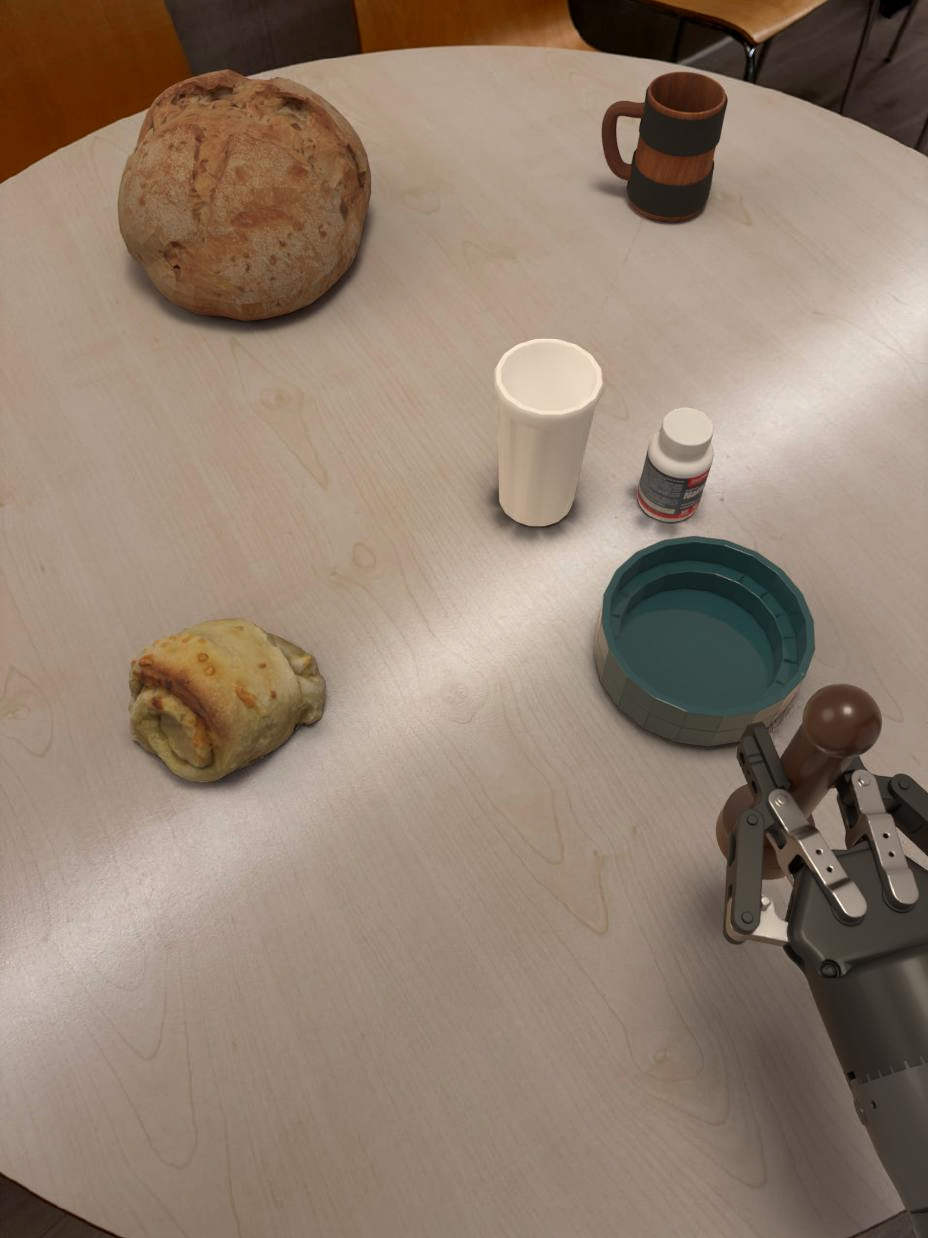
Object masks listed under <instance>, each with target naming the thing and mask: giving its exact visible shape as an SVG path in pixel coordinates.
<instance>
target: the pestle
mask: <svg viewBox="0 0 928 1238" xmlns="http://www.w3.org/2000/svg"><path fill="white" fill-rule="evenodd" d="M802 722H803V723H802ZM802 722H801V724H800V726H799V727H798V728H797V730H796V732H795V734H794V735H793V737H792V738H791V741H789V743H788V745H787V747H785V749H784V751H783V753H782V754H781V756H779V758H780V760H781V762H782V764H783V768H784V771H785V773H786V775H787V776H788V778H789V780H790V783H791V785H790V787H789V788H788V789H787V791H788V792H789V793H790V794H791V795H792V797H793V798H794V800H795V801H796V803H797V805H798V806H799V808H800V809H801V811H802V813H803V814H804V816H805V817H806V819H807V821H808V822H809V824H810V825H811V826H813V827H816V823H815V819H814V816H813V814H812V813H813V812H814V811H815V810H816V808H817V807H818V806H819V804H820V803H821V802H822V800H823V799H824V798H825V797H826V795H827V794H828V793H829V791H830V790H832V789H831V788H832V786H833V785H834V784H835V782H836V781H837V780H838V779H839V777H840V776H841V775H842V774H843V772H844V771H845V770H846V768H847V767H848V766H849V765H850V763H851V762H852V761H853V759H854V758H855V757H856V756H859V757H860V756H861V755H864V754H865V753H866V752H868V751H869V750H870V749H872V748H873V747H874V746H875V744H876V743H877V741H878V740H879V737H880V736H881V732H882V728H883V716H882V711H881V709H880V707H879V705H878V703H877V701H876V700H875V698H874V697H873V696H872V695H871V694H870V693H868V691H865V690H864V689H863V688H861V687H859V686H857V685H853V684H849V683H832V684H829V685H826V686H824V687H821V688H819V689H818V690H817V691H816V692H814V693H813V694H812V695H811V696H810V698H809V699H808V700H807V702H806V704H805V706H804V708H803V713H802ZM754 806H755V801H754V798H753V796H752V793H751V791H750V789H749V786H748V784H747V783H746V784H744V785H741V786H740V787H738V788H737V789H735V790H734V791H733V792H732V793H731V794H730V795H729V797H728V799H726V801H725V803H724V805H723V807H722V809H721V810H720V812H719V814H718V817H717V819H716V823H715V838H716V842H717V845H718V847H719V850H720V852H721V854H722V855H723V857H724V858H725V859H726V860H727V851H728V836H729V832H730V830H731V829H732V827H733V826H734V825H735V824H736V822H737V820H738V817H739V816H740V814H741V813H742V812H743V811H744V810H746V809H751V808H752V807H754ZM782 878H783V879H784V878H786V876H785V874H784V872H783V870H782V869H781V867H780V865H779V863H778V861H777V856H776V851H775V849H774V848H773V846H772V844H771V843H770V841H769V839H768V838H767V836H766V835H764V850H763V873H762V881H773V880H774V881H775V880H780V879H782Z"/></svg>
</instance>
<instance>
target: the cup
mask: <svg viewBox="0 0 928 1238" xmlns="http://www.w3.org/2000/svg"><path fill="white" fill-rule="evenodd" d="M493 380H494V381H493V384H494V385H493V386H494V392H495V397H496V400H497V435H498V436H497V438H498V440H497V442H498V443H497V444H498V449H497V450H498V501H499V504H500V506H501V508H502V510H503V512H504V513H505V514H506V515H507V516H508V517H510V518H511V519H512V520H513V521H515V522H517V523H520V524H522V525H526V526H528V527H546V526H549V525H552V524H556V523H559V521H561V520H562V519H563V518H565V517H566V516H567V515H568V514H569V512H570V510H571V509H572V507H573V504H574V500H575V495H576V491H577V489H578V488H577V487H578V483H579V478H580V474H581V471H582V466H583V462H584V457H585V454H586V449H587V445H588V441H589V437H590V432H591V428H592V424H593V421H594V420H593V419H594V415H595V410H596V407H597V405H598V402H599V401H600V399H601V396H602V393H603V390H604V388H605V384H604V372H603V369H602V368H601V366H600V365H599V364H598V362H597V360H596V358H595V357H594V356H593V355H592V354H591V353H590V352H588V351H587V350H585V349H584V348H583V347H580V346H579V345H578V344H576V343H573V342H569V341H565V340H562V339H559V338H535V339H531V340H528V341H524V342H520V343H518V344H516V345H514V346H513V347H512V348H510V349H509V350H508V351H506V352H505V353H503V354H502V355H501V357H500V359H499V361H498V363H497V364H496V366H495V368H494V370H493Z"/></svg>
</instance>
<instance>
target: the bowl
mask: <svg viewBox="0 0 928 1238" xmlns="http://www.w3.org/2000/svg"><path fill="white" fill-rule="evenodd" d="M814 621H815V620H814V617H813V615H812V613H811V610H810V608H809V606H808V603H807V600H806V598H805V596H804V594H803V593H802V591H801V590H800V588H799V587H798V586H797V585H796V584H795V582H793V581H792V579H791V578H790V577H789V576H788V574H787V573H786V572H785V570H784V569H782V568H781V567H780V566H778V565H777V564H775V563H774V562H772V561H771V560H770V559H768V558H767V557H765V556H764V555H763V554H761V553H760V552H758V551H756V550H754V549H751V548H748V547H746V546H744V545H741V544H738V543H736V542H733V541H731V540H728V539H723V538H714V537H709V536H708V537H707V536H698V535H690V536H682V537H675V538H666V539H663V540H660V541H658V542H656V543H653V544H651V545H648V546H646V547H644V548H641V549H639V550H637V551H635V552H634V553H633V554H632V555H631V556H630V557H628V559H626V560H625V561H624V562H623V563H622V564H621V565H620V566H619V567H617V569H615V570H614V573H613V575H612V577H611V579H610V581H609V583H608V585H607V586H606V589H605V590H604V593H603V595H602V598H601V603H600V608H599V613H598V618H597V622H596V627H595V633H594V635H595V637H594V646H593V658H594V661H595V665H596V669H597V672H598V677H599V680H600V682H601V684H602V685H603V687H604V688H605V690H606V692H607V693H608V694H609V696H610V698H611V699H612V701H613V702H614V704H615V705H616V707H617V708H619V709H620V710H621V711H622V712H623V713H625V714H626V715H627V716H628V717H629V718H630V719H632V720H633V721H634V722H636V723H637V725H639V726H641V728H644V730H647V731H649V732H651V733H653V734H656V735H658V736H660V737H663V738H664V739H665V738H666V739H667V740H670V741H672V742H675V743H680V744H687V745H696V746H702V747H713V746H717V745H726V744H731V743H732V744H733V743H740V742H741V737H742V734H743V733H744V731H745V729H746V727H747V725H748V724H752V723H757V722H763V723H764V724H765V726H766V728H767V729H768V728H770V726H772V724H773V723H774V722H775V721H776V720H777V719H778V718H779V716H780V715H781V714H782V713H783V712H784V711H785V710H786V709H787V708H788V706H789V705H790V703H791V701H792V699H793V698H794V696H795V694H796V693H797V691H798V690H799V688H800V686H801V685H802V683H803V681H804V680H805V678H806V676H807V673H808V670H809V668H810V665H811V663H812V660H813V657H814V654H815V652H816V639H815V622H814Z"/></svg>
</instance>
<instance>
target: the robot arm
mask: <svg viewBox="0 0 928 1238" xmlns="http://www.w3.org/2000/svg"><path fill="white" fill-rule="evenodd" d="M802 723H803V721H802V722H801V724H802ZM738 743H739V744H738V745H737V747H736V760H737V762H738V764H739V767H740V769H741V772H742V774H743V777H744V780H745V781H746V784H748V786H749V789H750V791H751V793H752V796H753V798H754V801H755V806H754V807H752V808H751V809H746V810H744V811H743V812H742V813H741V814H740V816H739V817H738V820H737V822H736V824H735V825H734V826H733V827H732V829H731V830H730V832H729V836H728V851H727V859H726V868H725V883H724V884H725V885H724V887H725V888H724V901H723V902H724V903H723V914H722V915H723V917H722V935H723V938H724V939H725V940H726V941H727V942H728V943H730V944H732V945H735V946H739V945H742V944H744V943H745V942H746V941H752V942H757V943H761V944H766V945H771V946H778V947H782V949H783V951H784V953H785V955H786V956H787V958H789V960H790V961H791V962H793V963H794V964H795V965H796V966H797V967H798V968H799V970H800V971H801V972H802V973H803V975H804V977H805V979H806V981H807V983H808V986H809V990H810V993H811V996H812V998H813V1001H814V1004H815V1005H816V1008H817V1011H818V1013H819V1016H820V1018H821V1022H822V1023H823V1026H824V1029H825V1031H826V1033H827V1035H828V1038H829V1041H830V1043H831V1046H832V1047H833V1051H834V1052H835V1056H836V1058H837V1060H838V1062H839V1065H840V1067H841V1070H842V1073H843V1075H844V1077H845V1080H846V1082H847V1085H848V1087H849V1090H850V1093H851V1096H852V1098H853V1106H854V1109H855V1112H856V1114H857V1117H858V1120H859V1121H860V1123H861V1124H862V1126H864V1128H865V1129H866V1132H867V1134H868V1137H869V1139H870V1141H871V1144H872V1146H873V1149H874V1151H875V1153H876V1155H877V1157H878V1159H879V1161H880V1164H881V1165H882V1167H883V1169H884V1171H885V1173H886V1174H887V1176H888V1178H889V1179H890V1181H891V1183H892V1185H893V1187H894V1189H895V1191H896V1193H897V1194H898V1196H899V1199H900V1201H901V1203H902V1205H903V1208H904V1210H906V1211H908V1213H907V1217H908V1220H909V1222H910V1225H911V1227H912V1229H913V1232H914V1234H915V1236H916V1238H928V869H926V867H924V866H923V865H921V864H919V863H918V862H917V861H915V860H913V859H912V858H910V857H909V856H908V855H906V854H905V852H904V849H903V846H902V842H901V839H900V836H899V833H898V830H899V831H900V832H901V833H902V834H903V835H904V836H905V837H906V838H907V839H908V840H910V842H912V843H913V844H914V845H915V846H916V847H917V848H918V849H919V850H920V851H921V852H922V853H923V854H924V855H925V856H926V857H928V791H927V790H925V789H924V788H923V786H921V785H920V784H919V783H918V782H917V781H916V780H914V779H913V778H912V777H911V776H910V775H908V774H906V773H896V774H894V775H893V776H888V775H878V774H875V773H872V772H871V771H870V770H868V769H867V768H866V766H865V764H864V763H863V760H862V759H861V756H860V755H859V756H856V757H855V758H854V759H853V761H852V762H851V763H850V765H849V766H848V767H847V768H846V770H845V771H844V772H843V774H842V775H841V776H840V777H839V779H838V780H837V781H836V782H835V784H834V785H833V786H832V788H831V789H830V790H833V789H836V792H837V793H836V803H837V805H838V806H837V807H838V810H839V812H840V813H839V814H840V817H841V819H842V823H843V826H844V831H845V835H844V845H845V848H846V849H837V848H836V849H835V848H833V849H832V848H831V847H830V846H829V844H828V842H827V841H826V839H825V837H824V836H823V835H822V832H821V831H820V830H819V829H818V828H817V826H815V827H813V826H811V825H810V824H809V822H808V821H807V819H806V817H805V816H804V814H803V813H802V811H801V809H800V808H799V806H798V805H797V803H796V801H795V800H794V798H793V797H792V795H791V794H790V793H789V792H788V791H787V789H788V788H789V787H790V785H791V783H790V780H789V778H788V776H787V775H786V773H785V771H784V768H783V764H782V762H781V760H780V756H779V753H778V751H777V748H776V746H775V743H774V741H773V739H772V737H771V734H770V733H769V730H768V728H766V726H765V724H764V723H763V722H757V723H752V724H748V725H747V727H746V729H745V731H744V733H743V734H742V737H741V741H740V742H738ZM897 829H898V830H897ZM764 835H766V836H767V838H768V839H769V841H770V843H771V844H772V846H773V848H774V849H775V851H776V856H777V861H778V863H779V865H780V867H781V869H782V870H783V872H784V874H785V878H786V879H787V880H788V882H789V884H790V886H791V887H792V888H791V893H790V895H789V901H788V906H787V909H786V913H785V917H784V919H782V918H781V917H780V916H779V915H778V913H777V911H776V906H775V902H774V900H773V898H771V896H769V894H767V893H764V892H763V880H762V873H763V850H764Z"/></svg>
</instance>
